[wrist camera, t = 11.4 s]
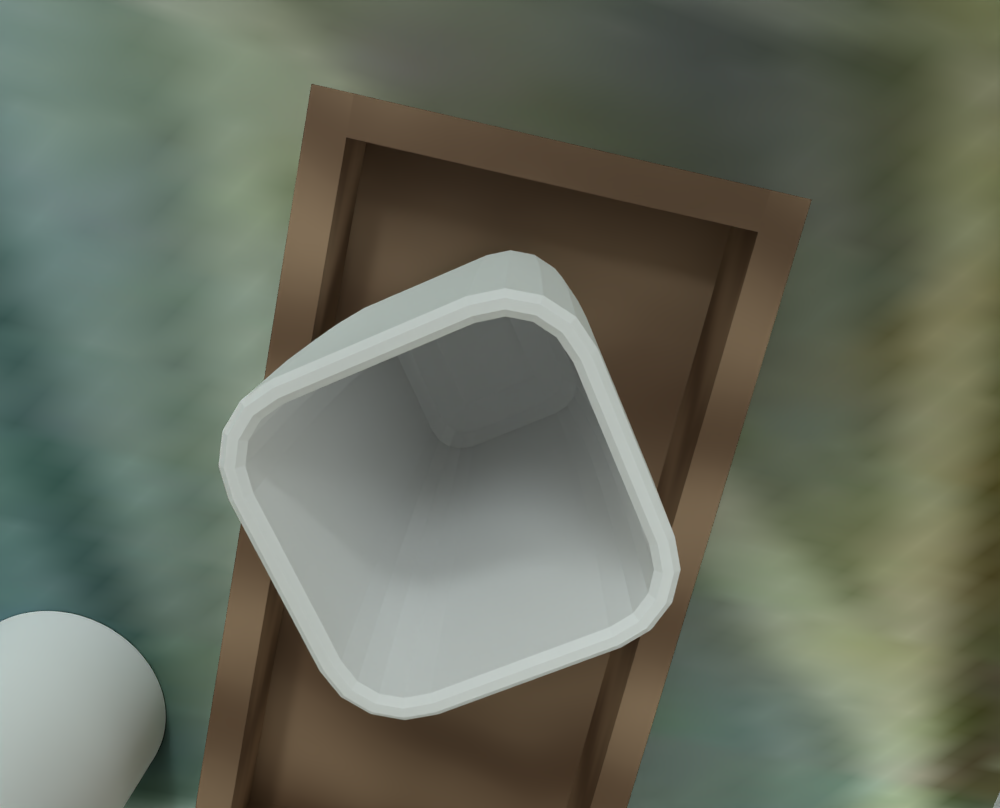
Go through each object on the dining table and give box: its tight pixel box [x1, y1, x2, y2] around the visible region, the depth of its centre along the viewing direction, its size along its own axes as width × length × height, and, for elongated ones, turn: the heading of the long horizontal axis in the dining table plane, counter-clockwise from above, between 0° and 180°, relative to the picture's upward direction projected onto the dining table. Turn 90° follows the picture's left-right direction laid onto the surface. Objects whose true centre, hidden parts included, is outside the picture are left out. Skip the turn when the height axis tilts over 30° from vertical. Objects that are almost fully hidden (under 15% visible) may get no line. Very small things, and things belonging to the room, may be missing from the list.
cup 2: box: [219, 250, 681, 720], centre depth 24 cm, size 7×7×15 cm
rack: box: [196, 84, 811, 808], centre depth 32 cm, size 28×14×4 cm, turn 167°
